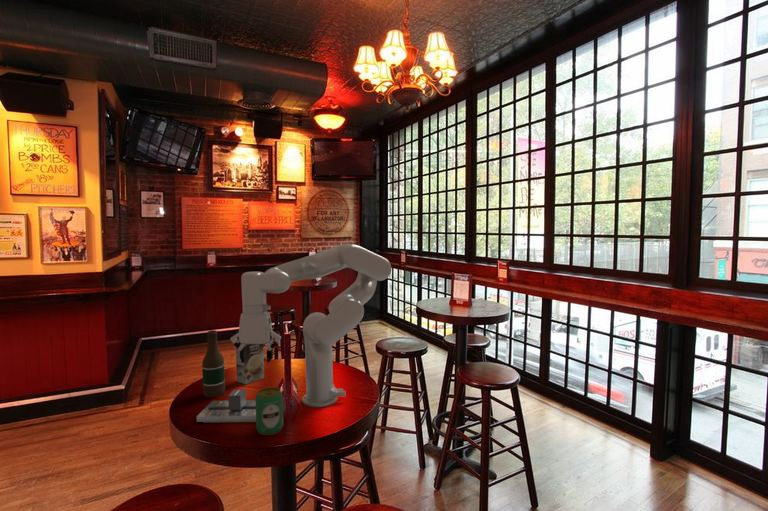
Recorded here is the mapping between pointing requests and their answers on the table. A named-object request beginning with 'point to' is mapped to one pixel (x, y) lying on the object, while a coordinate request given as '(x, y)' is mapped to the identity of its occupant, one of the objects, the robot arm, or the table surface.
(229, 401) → the fader cap
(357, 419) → the table surface
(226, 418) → the console
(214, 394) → the beer bottle
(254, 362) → the coffee box
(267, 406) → the beverage can
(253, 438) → the table surface
